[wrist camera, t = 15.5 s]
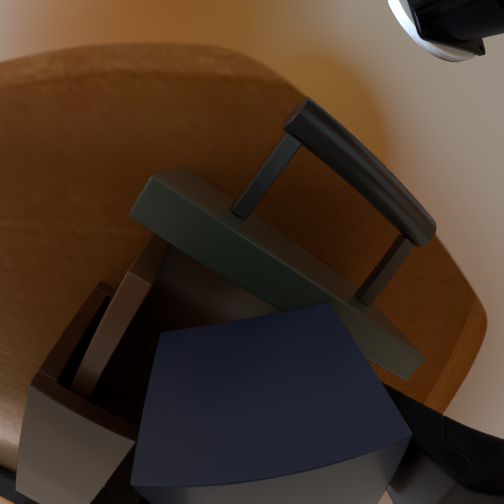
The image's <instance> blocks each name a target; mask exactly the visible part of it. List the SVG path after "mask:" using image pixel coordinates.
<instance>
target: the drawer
mask: <svg viewBox="0 0 504 504" xmlns="http://www.w3.org/2000/svg"><path fill="white" fill-rule="evenodd" d="M281 129H282V130H284V131H285V132H286V133H285V134H283V135H282V137H281V138H280V139H279V141H278V142H277V143H276V145H275V146H274V147H273V149H272V150H271V151H270V153H269V154H268V155H267V157H266V158H265V159H264V161H263V162H262V163H261V165H260V166H259V168H258V169H257V170H256V172H255V173H254V174H253V176H252V177H251V179H250V180H249V181H248V183H247V184H246V185H245V187H244V188H243V190H242V191H241V192H240V194H239V195H238V197H237V198H236V199H235V200H234V199H232V198H231V197H230V196H228V195H227V194H225V193H224V192H222V191H221V190H219V189H218V188H216V187H215V186H213V185H212V184H210V183H209V182H207V181H206V180H204V179H203V178H201V177H200V176H198V175H197V174H195V173H194V172H192V171H191V170H189V169H188V168H186V167H185V166H183V165H178V166H175V167H173V168H170V169H167V170H165V171H162V172H159V173H157V174H154V175H152V176H151V177H150V178H149V180H148V181H147V183H146V184H145V186H144V188H143V189H142V191H141V193H140V194H139V196H138V198H137V199H136V201H135V203H134V204H133V206H132V208H131V209H130V211H129V214H128V216H129V217H130V218H132V219H133V220H135V221H136V222H138V223H139V224H141V225H142V226H144V227H145V228H147V229H149V230H150V231H152V232H153V233H152V235H151V236H150V238H149V239H148V241H147V242H146V243H145V245H144V246H143V248H142V249H141V251H140V252H139V254H138V255H137V257H136V258H135V260H134V261H133V263H132V264H131V266H130V267H129V269H128V271H127V272H126V274H125V276H124V278H123V279H122V281H121V283H120V285H119V287H118V289H117V291H116V292H115V294H114V296H113V298H112V300H111V302H110V304H109V306H108V308H107V310H106V312H105V314H104V316H103V318H102V320H101V322H100V324H99V326H98V328H97V330H96V332H95V334H94V336H93V338H92V340H91V342H90V344H89V347H88V349H87V351H86V353H85V355H84V357H83V360H82V362H81V364H80V366H79V369H78V371H77V373H76V376H75V378H74V380H73V383H72V385H71V387H70V391H71V392H73V393H75V394H77V395H78V396H80V397H82V398H84V399H86V400H87V401H89V402H91V403H93V404H95V405H97V406H99V407H101V408H102V409H104V410H106V411H108V412H110V413H112V414H114V415H117V416H119V417H121V418H123V419H125V420H127V421H129V422H132V423H134V424H136V425H138V426H140V423H141V418H142V413H143V408H144V403H145V399H146V394H147V389H148V385H149V380H150V376H151V371H152V367H153V362H154V358H155V354H156V350H157V346H158V342H159V338H160V334H161V332H167V331H174V330H181V329H188V328H194V327H201V326H207V325H213V324H219V323H225V322H231V321H236V320H242V319H247V318H253V317H258V316H263V315H269V314H274V313H279V312H284V311H289V310H293V309H298V308H303V307H308V306H312V305H317V304H321V303H326V302H330V304H331V305H332V307H333V308H334V310H335V311H336V313H337V314H338V316H339V317H340V319H341V320H342V322H343V323H344V325H345V326H346V328H347V329H348V331H349V332H350V334H351V336H352V337H353V339H354V340H355V342H356V343H357V345H358V346H359V348H360V350H361V351H362V353H363V354H364V356H365V357H366V359H367V360H369V361H371V362H373V363H375V364H377V365H378V366H380V367H382V368H384V369H386V370H388V371H390V372H392V373H393V374H395V375H397V376H399V377H401V378H403V379H405V380H407V379H408V378H409V377H410V376H411V375H412V374H413V373H414V371H415V370H416V369H417V368H418V367H419V366H420V365H421V364H422V363H423V361H424V360H425V357H424V356H423V355H422V353H421V352H420V351H419V350H418V349H417V348H416V347H415V346H414V345H413V344H412V343H411V342H410V341H409V340H408V339H407V337H406V336H405V335H404V334H403V333H402V332H401V331H400V330H399V329H398V328H397V327H396V326H395V325H394V324H393V323H392V322H391V321H390V320H389V319H388V318H387V317H386V316H385V315H384V314H383V313H382V312H381V310H380V309H379V308H378V307H377V306H376V305H375V304H374V303H373V301H374V300H375V298H376V297H377V296H378V295H379V293H380V292H381V291H382V289H383V288H384V287H385V286H386V284H387V283H388V282H389V280H390V279H391V278H392V276H393V275H394V274H395V272H396V271H397V270H398V268H399V267H400V266H401V264H402V263H403V261H404V260H405V259H406V257H407V256H408V255H409V253H410V252H411V250H412V249H413V247H414V246H417V247H419V246H423V245H425V244H427V243H428V242H429V241H430V240H431V239H432V238H433V236H434V235H435V232H436V222H435V221H434V219H433V218H432V217H431V216H430V215H429V214H428V212H427V211H426V210H425V209H424V208H423V206H422V205H421V204H420V203H419V202H418V201H417V200H416V199H415V197H414V196H413V195H412V194H411V193H410V192H409V191H408V189H406V187H405V186H404V185H403V184H402V183H401V182H400V181H399V180H398V179H397V178H396V177H395V176H394V175H393V173H392V172H390V171H389V170H388V169H387V168H386V166H385V165H384V164H383V163H382V162H381V161H380V160H379V159H378V158H377V157H375V155H374V154H373V153H371V152H370V151H369V150H368V149H367V148H366V147H365V146H364V145H363V144H362V143H361V142H360V141H359V140H358V139H357V138H356V137H355V136H354V135H352V134H351V133H350V132H349V131H348V130H347V129H346V128H345V127H343V126H342V125H341V124H340V123H339V122H338V121H337V120H335V119H334V118H333V117H332V116H331V115H330V114H328V113H327V112H326V111H325V110H324V109H322V108H321V107H320V106H319V105H318V104H316V103H315V102H314V101H313V100H311V99H310V98H309V97H306V98H304V99H303V100H302V101H300V102H299V103H298V104H297V105H296V107H295V108H294V109H293V110H292V111H291V112H290V114H289V115H288V116H287V118H286V119H285V121H284V122H283V124H282V126H281ZM301 145H303V146H304V147H305V148H307V149H308V150H309V151H310V152H312V153H313V154H314V155H315V156H317V157H318V158H319V159H320V160H321V161H323V162H324V163H325V164H326V165H327V166H329V167H330V168H331V169H332V170H333V171H334V172H336V173H337V174H338V175H339V176H340V177H341V178H343V179H344V180H345V181H346V182H347V183H348V184H349V185H351V186H352V187H353V188H354V189H355V190H356V191H357V192H358V193H359V194H361V195H362V196H363V197H364V198H365V199H366V200H367V201H368V202H369V203H370V204H371V205H372V206H374V207H375V208H376V209H377V210H378V211H379V212H380V213H381V214H382V215H383V216H384V217H385V218H386V219H387V220H388V221H389V222H390V223H391V224H392V225H393V226H394V227H395V228H396V229H397V230H398V231H399V232H400V233H401V234H402V235H401V234H400V235H399V236H398V237H397V238H396V240H395V241H394V243H393V244H392V245H391V247H390V248H389V250H388V251H387V252H386V254H385V255H384V256H383V258H382V259H381V261H380V262H379V263H378V265H377V266H376V267H375V269H374V270H373V271H372V272H371V274H370V275H369V276H368V278H367V279H366V280H365V282H364V283H363V284H362V285H361V287H360V288H357V287H356V286H355V285H353V284H352V283H351V282H349V281H348V280H347V279H345V278H344V277H343V276H341V275H340V274H338V273H337V272H336V271H334V270H333V269H332V268H330V267H329V266H328V265H326V264H325V263H323V262H322V261H321V260H319V259H318V258H317V257H315V256H314V255H312V254H311V253H310V252H308V251H307V250H305V249H304V248H303V247H301V246H300V245H298V244H297V243H296V242H294V241H293V240H291V239H290V238H289V237H287V236H286V235H284V234H283V233H281V232H280V231H279V230H277V229H276V228H274V227H273V226H272V225H270V224H269V223H267V222H266V221H264V220H263V219H261V218H260V217H259V216H257V215H256V214H254V213H253V210H254V209H255V207H256V206H257V205H258V203H259V202H260V201H261V199H262V198H263V196H264V195H265V194H266V192H267V191H268V190H269V188H270V187H271V186H272V184H273V183H274V181H275V180H276V179H277V177H278V176H279V175H280V173H281V172H282V171H283V169H284V168H285V167H286V165H287V164H288V163H289V161H290V160H291V158H292V157H293V156H294V154H295V153H296V152H297V150H298V149H299V148H300V146H301Z"/></svg>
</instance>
